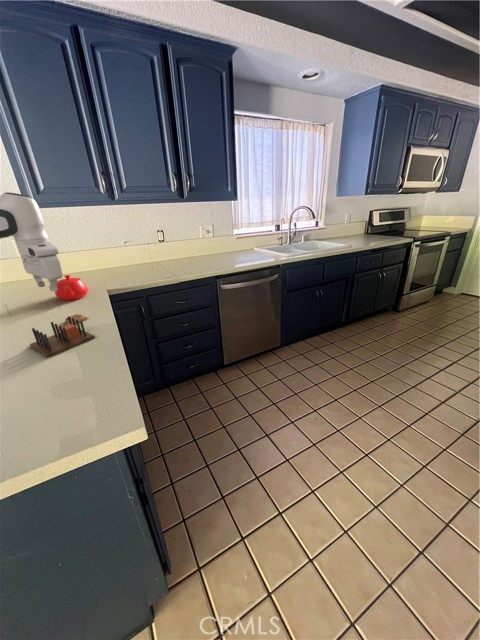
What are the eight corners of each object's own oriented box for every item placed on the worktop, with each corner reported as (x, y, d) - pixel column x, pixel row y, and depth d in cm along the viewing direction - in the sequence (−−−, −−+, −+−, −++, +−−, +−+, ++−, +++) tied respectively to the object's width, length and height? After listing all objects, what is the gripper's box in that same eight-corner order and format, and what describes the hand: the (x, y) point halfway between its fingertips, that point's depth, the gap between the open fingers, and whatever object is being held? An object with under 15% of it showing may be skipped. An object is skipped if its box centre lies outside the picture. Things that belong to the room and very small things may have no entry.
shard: (66, 329, 107) (64, 325, 106) (52, 327, 110) (51, 323, 109) (88, 319, 116) (87, 315, 116) (75, 317, 119) (73, 313, 118)
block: (68, 339, 97) (65, 329, 95) (63, 337, 99) (59, 327, 97) (79, 335, 100) (76, 325, 98) (74, 332, 102) (71, 323, 100)
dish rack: (48, 357, 88) (41, 338, 85) (30, 346, 95) (23, 329, 92) (94, 337, 100) (89, 321, 97) (75, 329, 107) (70, 313, 104)
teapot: (59, 293, 151) (52, 272, 146) (89, 289, 157) (84, 269, 152) (53, 307, 131) (45, 283, 126) (88, 302, 137) (82, 279, 132)
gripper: (11, 246, 89) (24, 286, 95) (37, 251, 79) (51, 296, 84) (32, 244, 94) (44, 282, 99) (60, 249, 83) (72, 291, 89)
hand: (47, 288), depth 92 cm, fingers open, 8 cm apart
